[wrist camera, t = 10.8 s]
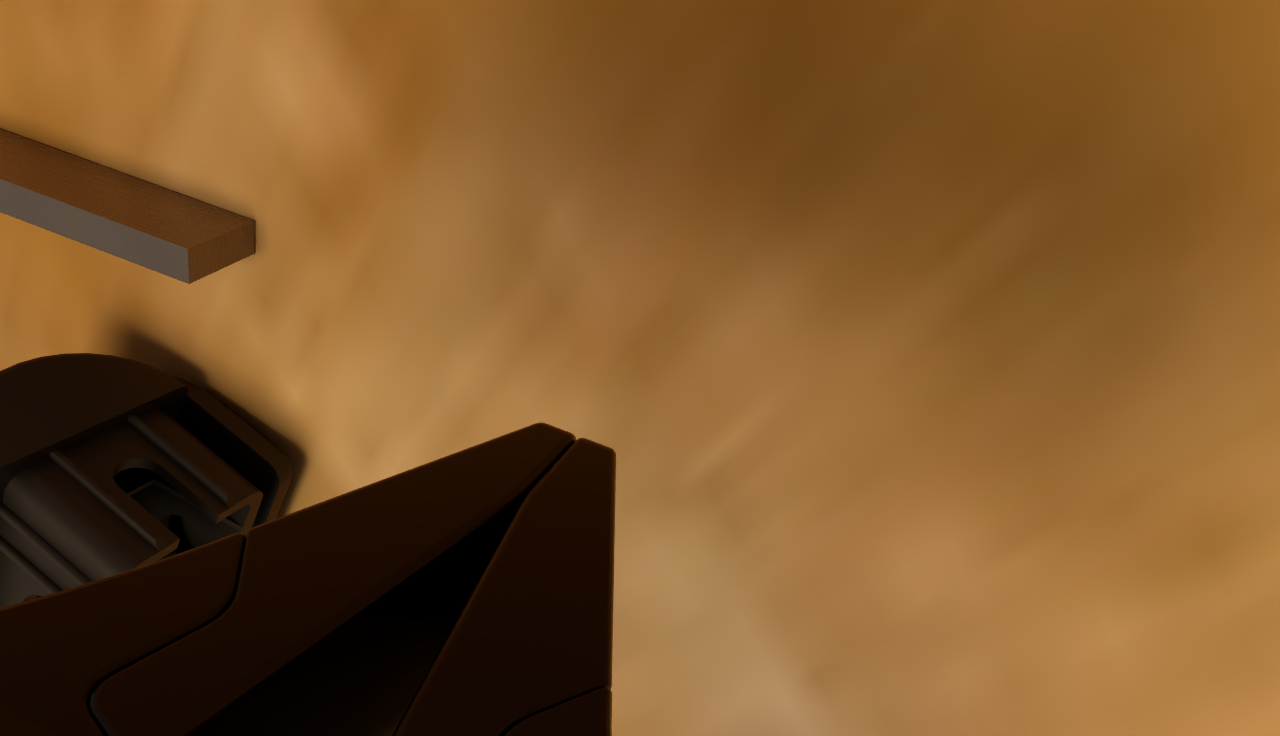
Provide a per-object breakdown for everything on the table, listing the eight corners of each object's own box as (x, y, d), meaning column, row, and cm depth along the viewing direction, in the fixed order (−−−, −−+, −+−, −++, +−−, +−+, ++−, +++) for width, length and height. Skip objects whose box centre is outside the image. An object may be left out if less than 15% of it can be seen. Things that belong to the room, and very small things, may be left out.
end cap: (135, 317, 27) (-106, 401, 22) (303, 454, 26) (98, 579, 21) (93, 515, 32) (-111, 625, 27) (232, 636, 32) (52, 775, 26)
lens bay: (254, 638, 32) (199, 694, 30) (-46, 503, 35) (-119, 545, 32) (254, 221, 24) (178, 252, 22) (-143, 77, 26) (-252, 91, 24)
